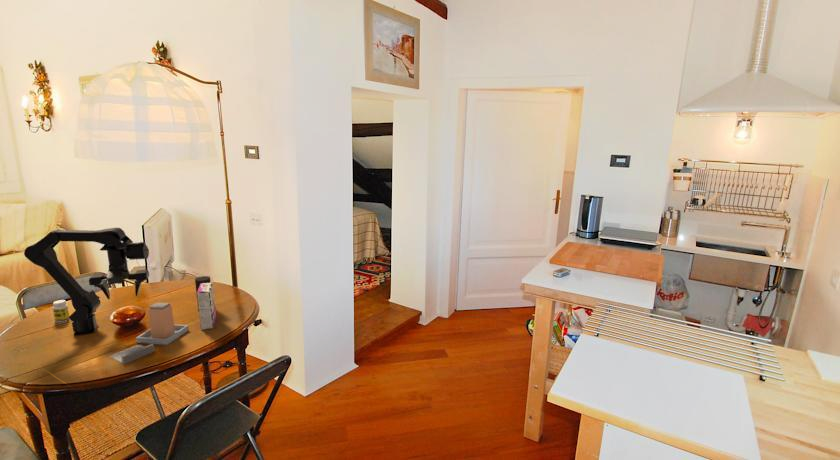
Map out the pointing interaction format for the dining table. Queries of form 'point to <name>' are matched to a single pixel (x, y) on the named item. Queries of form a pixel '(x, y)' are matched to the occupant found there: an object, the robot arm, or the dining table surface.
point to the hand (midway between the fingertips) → (123, 297)
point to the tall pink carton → (161, 320)
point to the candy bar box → (206, 305)
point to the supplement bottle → (60, 311)
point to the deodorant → (200, 280)
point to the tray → (149, 340)
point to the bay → (133, 353)
